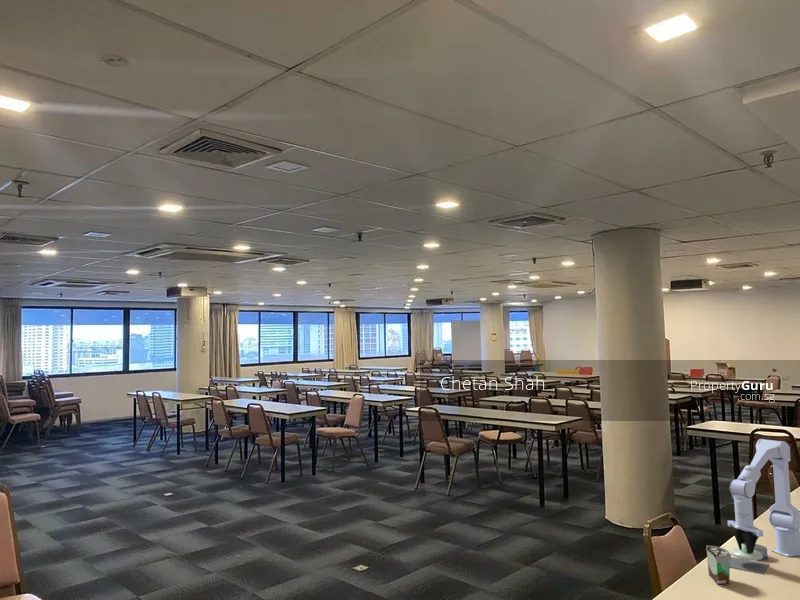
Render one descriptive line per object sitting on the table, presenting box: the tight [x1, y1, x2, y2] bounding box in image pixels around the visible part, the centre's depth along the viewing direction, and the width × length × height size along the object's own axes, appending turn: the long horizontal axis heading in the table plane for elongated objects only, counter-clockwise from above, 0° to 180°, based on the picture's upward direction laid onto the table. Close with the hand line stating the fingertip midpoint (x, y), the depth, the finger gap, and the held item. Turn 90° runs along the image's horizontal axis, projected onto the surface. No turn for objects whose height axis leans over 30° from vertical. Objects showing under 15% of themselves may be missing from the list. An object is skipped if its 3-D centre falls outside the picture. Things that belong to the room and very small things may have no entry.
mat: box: [730, 556, 770, 575], centre depth 217 cm, size 12×12×1 cm
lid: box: [730, 543, 763, 561], centre depth 217 cm, size 10×10×4 cm
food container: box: [705, 545, 732, 586], centre depth 203 cm, size 12×6×10 cm, turn 168°
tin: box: [754, 543, 769, 561], centre depth 227 cm, size 9×9×4 cm
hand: (746, 551), depth 217 cm, fingers closed on lid, 3 cm apart
